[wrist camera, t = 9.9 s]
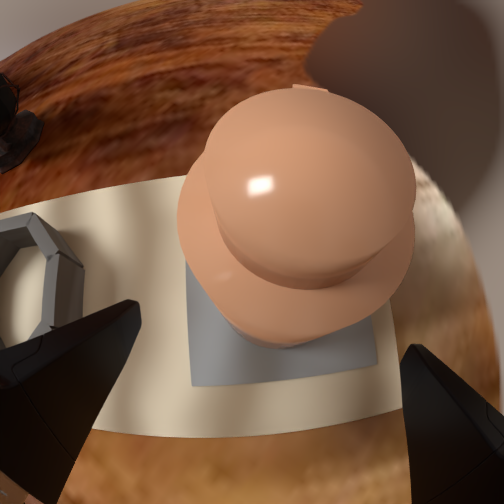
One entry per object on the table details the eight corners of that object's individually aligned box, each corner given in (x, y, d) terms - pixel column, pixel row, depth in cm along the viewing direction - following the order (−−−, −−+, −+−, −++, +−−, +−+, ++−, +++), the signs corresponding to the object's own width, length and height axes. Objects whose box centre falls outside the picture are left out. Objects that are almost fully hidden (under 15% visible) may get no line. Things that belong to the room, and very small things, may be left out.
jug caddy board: (-6, 397, 14) (-44, 396, 10) (7, 220, 20) (-22, 198, 16) (391, 404, 15) (428, 414, 11) (349, 176, 20) (367, 135, 16)
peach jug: (328, 356, 14) (463, 335, 4) (207, 337, 15) (109, 284, 5) (341, 201, 18) (406, 52, 7) (240, 185, 18) (227, 21, 8)
